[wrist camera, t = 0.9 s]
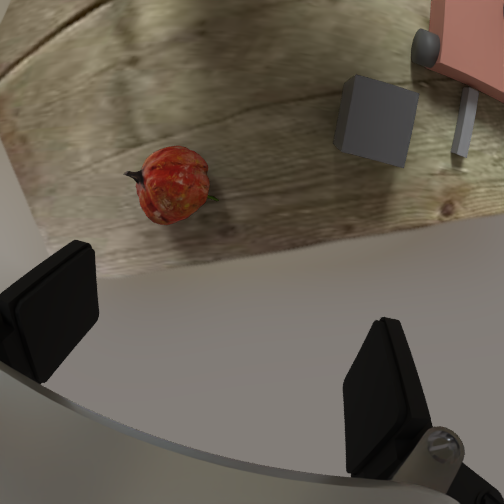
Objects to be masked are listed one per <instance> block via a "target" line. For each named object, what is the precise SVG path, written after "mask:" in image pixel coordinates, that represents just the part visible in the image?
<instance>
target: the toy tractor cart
mask: <svg viewBox="0 0 504 504" xmlns="http://www.w3.org/2000/svg"><path fill="white" fill-rule="evenodd" d="M411 59H412V62H414V63H416V64H419V65H422V66H425V68H427V69H430V70H432V71H435V72H437V73H440V74H442V75H445V76H447V77H450V78H452V79H454V80H457V81H459V82H461V83H464V84H466V85H468V86H470V87H472V88H474V89H477V90H479V91H481V92H483V93H485V94H487V95H489V96H491V97H493V98H495V99H497V100H498V101H500V102H502V103H504V0H431V11H430V24H429V31H426V30H424V29H419V30H418V31H417V32H416V34H415V36H414V39H413V43H412V48H411ZM470 87H467V88H463V90H462V97H461V103H460V109H459V114H458V120H457V125H456V130H455V135H454V140H453V144H452V149H451V152H452V153H455V154H457V155H460V156H463V157H466V158H467V154H468V149H469V145H470V140H471V136H472V131H473V125H474V120H475V115H476V109H477V103H478V96H479V92H478V91H476V90H474V89H472V88H470Z"/></svg>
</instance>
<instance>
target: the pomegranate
mask: <svg viewBox="0 0 504 504" xmlns="http://www.w3.org/2000/svg"><path fill="white" fill-rule="evenodd" d="M207 172H208V165H207V163H206V162H205V160H204V159H203V158H202V157H201V156H200V155H199V154H197V153H196V152H195V151H191V150H189V149H188V148H186V147H181V146H171V147H166V148H163V149H160V150H158V151H156V152H154V153H153V154H151V155H150V156H149V157H148V158H147V159H146V160H145V162H144V164H143V166H142V169H141V170H140V171H138V172H130V171H127V172H125V173H124V174H123V175H126V176H129V177H131V178H133V179H134V180H135V181H136V182H137V183H136V188H137V194H138V196H139V200H140V205H141V208H142V209H143V211H144V212H145V214H146V216H147V217H148V218H149V219H150V220H151V221H153V222H154V223H157V224H160V225H169V224H173V223H175V222H177V221H180V220H183V219H186V218H188V217H189V216H190V215H191V214H192V213H194V212H196V211H197V210H198V209H199V208H200V207H201V206H202V205H203V204H204V203H205V202H206V200H207V198H210V199H213V200H216V201H219V200H218V199H217V198H215V197H213V196H209V195H208V191H209V187H210V185H209V178H208V176H207Z"/></svg>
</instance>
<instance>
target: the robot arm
mask: <svg viewBox="0 0 504 504" xmlns="http://www.w3.org/2000/svg"><path fill="white" fill-rule="evenodd" d="M96 282H97V281H96V265H95V251H94V250H93V249H92V247H91V245H90V244H89V243H86V242H82V241H79V240H73V241H72V242H70V243H69V244H67V245H66V246H64V247H63V248H62V249H60V250H59V251H57V252H56V253H54V254H53V255H52V256H50V257H49V258H48V259H46V260H44V261H43V262H42V263H40V264H39V265H38V266H36V267H35V268H33V269H32V270H31V271H29V272H28V273H27V274H25V275H24V276H23V277H21V278H20V279H19V280H18V281H16V282H15V283H13V284H12V285H11V286H10V287H8V288H7V289H6V290H4V291H3V292H2V293H1V294H0V504H504V499H503V498H502V495H501V493H500V492H499V491H498V490H497V489H496V488H494V487H493V486H492V485H491V484H489V483H488V482H487V481H485V480H484V479H483V478H482V477H480V476H479V475H478V474H476V473H475V472H474V471H473V470H471V469H470V468H469V467H468V466H466V465H465V464H464V463H462V461H463V459H464V455H465V450H464V445H463V443H462V441H461V439H460V438H459V437H458V435H457V434H456V433H454V432H453V431H452V430H450V429H448V428H445V427H441V426H439V427H433V426H432V423H431V417H430V414H429V410H428V407H427V403H426V399H425V396H424V393H423V389H422V386H421V383H420V379H419V376H418V373H417V370H416V367H415V364H414V361H413V358H412V355H411V351H410V348H409V346H408V343H407V340H406V337H405V334H404V331H403V329H402V326H401V323H400V321H399V320H396V319H391V318H386V317H382V318H381V319H380V320H379V321H378V320H376V321H374V323H373V325H372V326H371V329H370V331H369V333H368V335H367V337H366V339H365V341H364V343H363V345H362V347H361V349H360V351H359V353H358V355H357V357H356V358H355V360H354V362H353V364H352V366H351V368H350V370H349V372H348V374H347V375H346V377H345V380H344V383H343V399H344V400H343V401H344V419H345V441H346V471H347V473H351V477H340V476H330V475H321V474H314V473H306V472H300V471H292V470H286V469H280V468H274V467H269V466H263V465H258V464H253V463H249V462H244V461H239V460H235V459H231V458H227V457H223V456H219V455H215V454H211V453H208V452H204V451H200V450H197V449H193V448H190V447H187V446H183V445H180V444H177V443H174V442H171V441H168V440H165V439H161V438H159V437H156V436H153V435H150V434H148V433H145V432H142V431H139V430H137V429H134V428H132V427H129V426H127V425H124V424H122V423H119V422H116V421H114V420H112V419H110V418H107V417H105V416H103V415H100V414H98V413H96V412H94V411H91V410H89V409H87V408H85V407H83V406H81V405H79V404H77V403H75V402H73V401H70V400H68V399H66V398H64V397H62V396H60V395H59V394H57V393H55V392H53V391H51V390H49V389H47V388H46V387H43V386H42V385H40V384H41V383H45V382H46V381H47V380H48V379H49V378H50V377H51V376H52V374H53V373H54V372H55V371H56V369H57V368H58V367H59V365H60V364H61V363H62V362H63V361H64V360H65V358H66V357H67V356H68V355H69V354H70V352H71V351H72V350H73V349H74V347H75V346H76V345H77V344H78V343H79V342H80V341H81V339H82V338H83V337H84V336H85V335H86V333H87V332H88V331H89V330H90V329H91V328H92V327H93V325H94V324H95V323H96V322H97V320H98V317H99V306H98V296H97V283H96Z"/></svg>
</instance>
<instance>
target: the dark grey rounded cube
mask: <svg viewBox="0 0 504 504" xmlns="http://www.w3.org/2000/svg"><path fill="white" fill-rule="evenodd" d="M418 98H419V93H416V92H413V91H410V90H407V89H404V88H401V87H398V86H395V85H392V84H388V83H385V82H382V81H378V80H375V79H371V78H368V77H364V76H360V75H354V76H353V77H352V78H350V79H349V80H348V81H346V82H345V83H344V87H343V93H342V98H341V104H340V109H339V115H338V120H337V125H336V130H335V135H334V141H333V144H334V145H335V146H336V147H337V148H338V149H339V150H340V151H341V152H344V153H348V154H352V155H357V156H361V157H364V158H368V159H372V160H376V161H380V162H383V163H387V164H390V165H394V166H398V167H401V168H404V165H405V161H406V157H407V152H408V148H409V143H410V139H411V134H412V129H413V124H414V119H415V114H416V109H417V103H418Z"/></svg>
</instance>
